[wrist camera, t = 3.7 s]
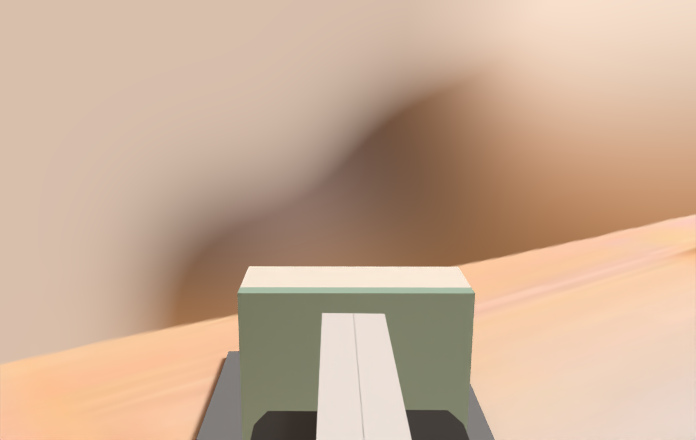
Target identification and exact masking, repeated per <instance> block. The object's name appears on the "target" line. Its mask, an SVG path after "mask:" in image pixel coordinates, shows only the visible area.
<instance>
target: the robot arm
mask: <svg viewBox="0 0 696 440" xmlns="http://www.w3.org/2000/svg"><path fill="white" fill-rule="evenodd" d="M250 440H469V437H468V434H467V432H466V429H465V426H464V424H463V423H462V422H461V421H460V420H458V419H457V418H456V417H455V416H454V415H453V414H452V413H451V412H449V411H448V410H405V406H404V402H403V397H402V392H401V388H400V383H399V378H398V374H397V369H396V364H395V360H394V355H393V351H392V346H391V341H390V337H389V332H388V327H387V323H386V318H385V314H366V313H322V326H321V348H320V369H319V390H318V411H267V412H266V413H265V414H264V415H263V416H262V417H261V418H260V419H259V420H258V421H257V422H256V423H255V424H254V426H253V431H252V435H251V439H250Z"/></svg>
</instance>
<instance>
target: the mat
mask: <svg viewBox="0 0 696 440" xmlns="http://www.w3.org/2000/svg"><path fill="white" fill-rule="evenodd" d="M467 434H468V437H469V440H494V437H493V435H492V433H491V430H490V428H489V426H488V424H487V421H486V419H485V417H484V414H483V412H482V410H481V407H480V405H479V403H478V401H477V398H476V396H475V394H474V391H473V389H472V387H471V384H470V388H469V405H468V423H467ZM196 440H242V416H241V384H240V353H239V351H229V352H228V355H227V358H226V360H225V363H224V366H223V369H222V371H221V374H220V377H219V379H218V382H217V385H216V388H215V390H214V393H213V396H212V398H211V401H210V404H209V406H208V409H207V412H206V415H205V417H204V420H203V423H202V425H201V428H200V431H199V434H198V436H197V439H196Z"/></svg>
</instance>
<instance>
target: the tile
mask: <svg viewBox="0 0 696 440" xmlns="http://www.w3.org/2000/svg"><path fill="white" fill-rule="evenodd" d="M474 300H475V293H474V291H473V290H472V288H471V286H470V285H469V283H468V282H467V280H466V279H465V277H464V275H463V274H462V272H461V271H460V269H459V267H256V266H254V267H253V266H252V267H250V266H249V268H248V270H247V272H246V275H245V277H244V279H243V282H242V284H241V287H240V289H239V291H238V321H239V353H240V384H241V416H242V440H250V439H251V435H252V431H253V426H254V424H255V423H256V422H257V421H258V420H259V419H260V418H261V417H262V416H263V415H264V414H265V413H266V412H267V411H318V390H319V369H320V348H321V326H322V313H366V314H385V318H386V323H387V327H388V332H389V337H390V341H391V346H392V351H393V355H394V360H395V364H396V369H397V374H398V378H399V383H400V388H401V392H402V397H403V402H404V406H405V410H448V411H449V412H451V413H452V414H453V415H454V416H455V417H456V418H457V419H458V420H460V421H461V422H462V423H463V424H464V426H465V429H466V432H467V423H468V405H469V388H470V370H471V353H472V335H473V318H474Z"/></svg>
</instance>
